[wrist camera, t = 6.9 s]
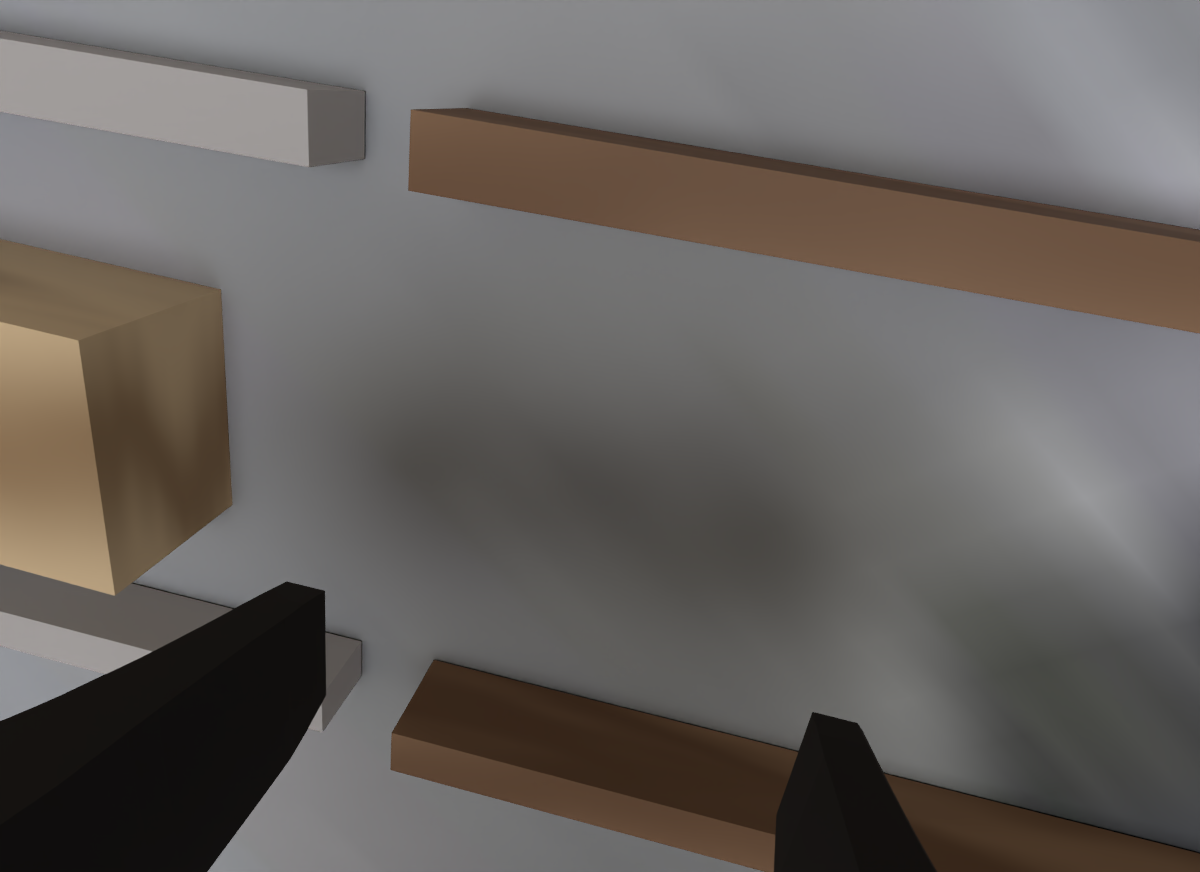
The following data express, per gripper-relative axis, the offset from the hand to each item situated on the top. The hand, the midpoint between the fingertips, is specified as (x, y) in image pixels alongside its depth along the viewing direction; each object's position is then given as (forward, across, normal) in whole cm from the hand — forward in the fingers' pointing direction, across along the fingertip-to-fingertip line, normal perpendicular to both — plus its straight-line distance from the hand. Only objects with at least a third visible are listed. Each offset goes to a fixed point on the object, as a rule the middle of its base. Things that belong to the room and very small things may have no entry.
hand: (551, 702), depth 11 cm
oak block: (+6, +12, 0) cm, 14 cm away
